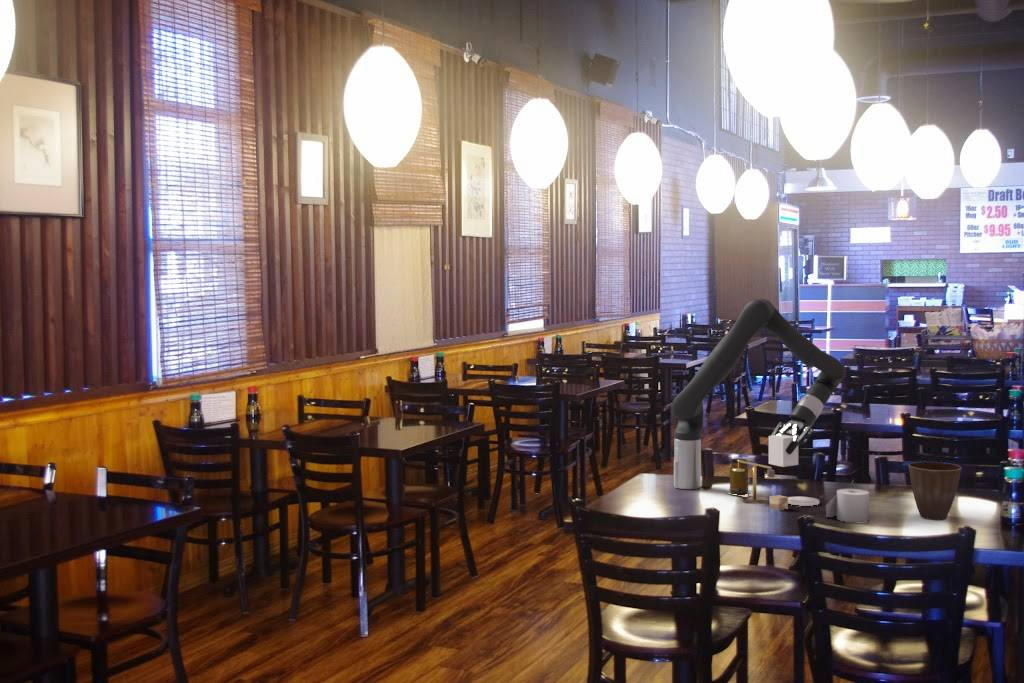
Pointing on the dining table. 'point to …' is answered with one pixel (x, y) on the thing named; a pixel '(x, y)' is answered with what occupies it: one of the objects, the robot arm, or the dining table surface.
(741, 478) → the condiment
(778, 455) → the white rectangular block
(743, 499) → the balance
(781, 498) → the block
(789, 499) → the dish
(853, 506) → the toilet tissue
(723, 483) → the dining table surface
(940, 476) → the plant pot
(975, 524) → the dining table surface
